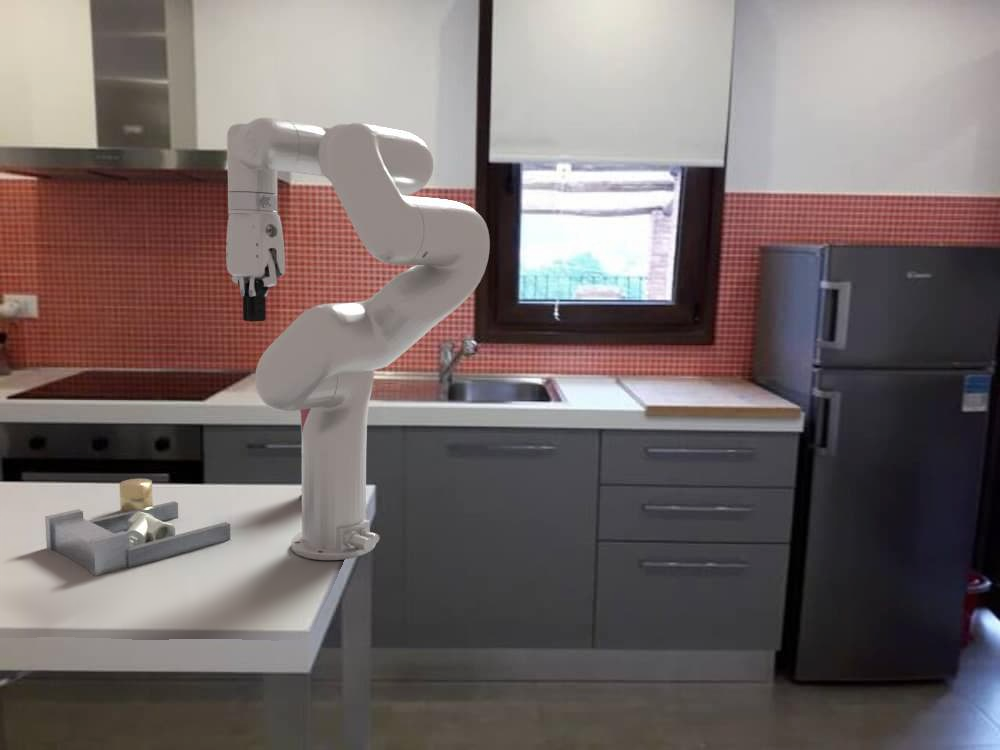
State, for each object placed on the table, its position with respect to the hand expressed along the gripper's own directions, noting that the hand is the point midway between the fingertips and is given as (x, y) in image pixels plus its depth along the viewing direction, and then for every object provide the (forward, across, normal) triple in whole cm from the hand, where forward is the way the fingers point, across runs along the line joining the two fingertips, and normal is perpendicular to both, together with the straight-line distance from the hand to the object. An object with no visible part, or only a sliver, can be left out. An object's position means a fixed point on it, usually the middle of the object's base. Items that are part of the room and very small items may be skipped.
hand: (254, 320), depth 132 cm
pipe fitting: (+34, +2, +19) cm, 39 cm away
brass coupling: (+33, +17, +12) cm, 39 cm away
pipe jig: (+33, +2, +19) cm, 38 cm away
